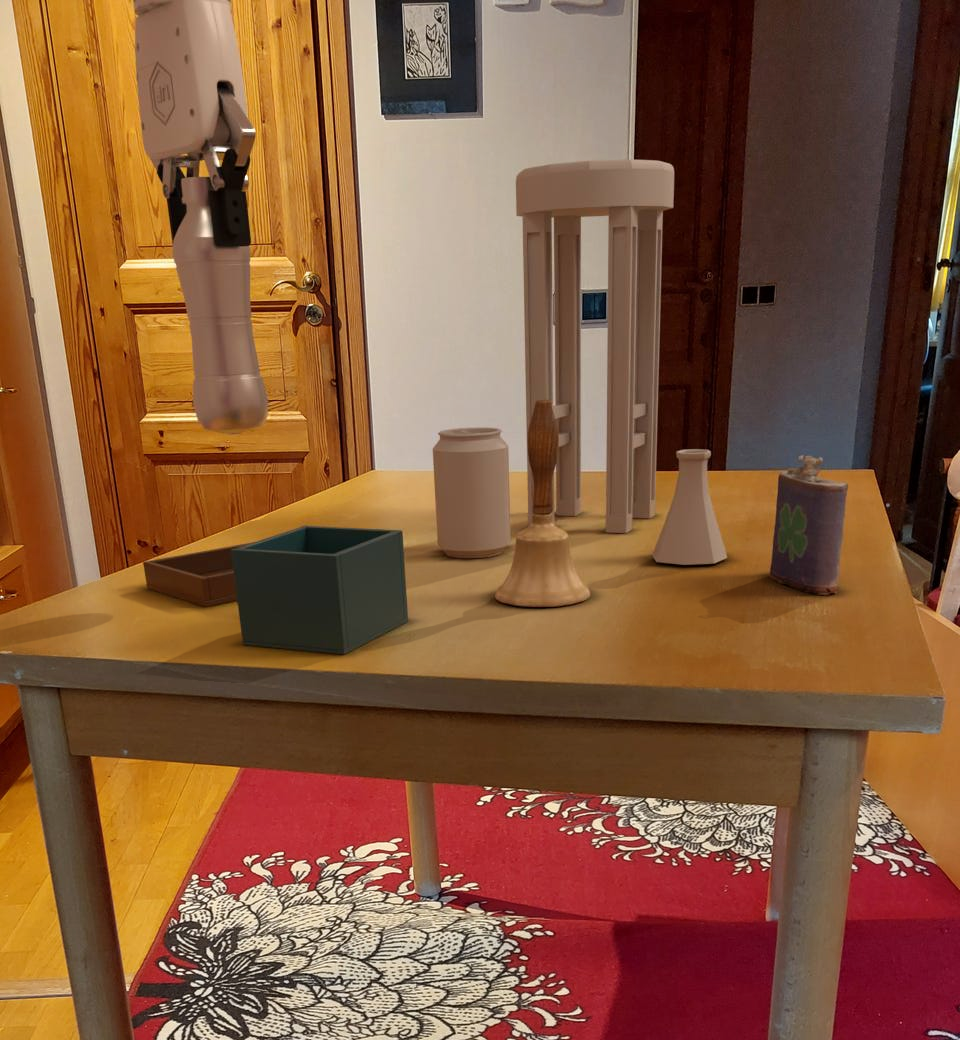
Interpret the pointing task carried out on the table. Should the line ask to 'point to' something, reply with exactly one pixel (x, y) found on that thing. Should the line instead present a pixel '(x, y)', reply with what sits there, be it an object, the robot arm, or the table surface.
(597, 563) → the table surface
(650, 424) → the stool
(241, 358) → the metal bottle
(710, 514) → the flask
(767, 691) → the table surface
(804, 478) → the flask
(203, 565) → the tray
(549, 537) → the hand bell
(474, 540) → the can
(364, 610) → the bin
